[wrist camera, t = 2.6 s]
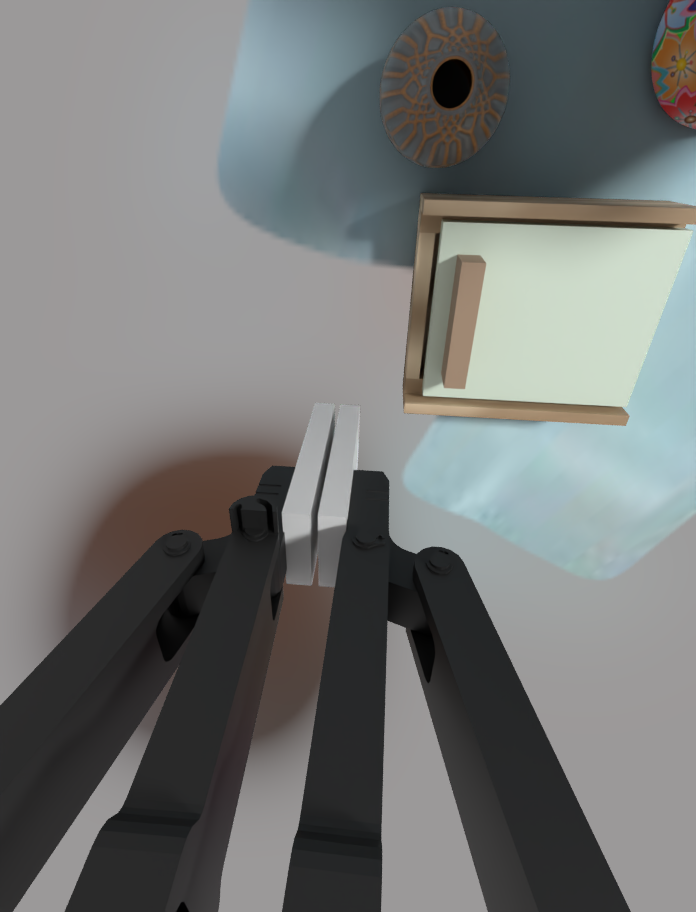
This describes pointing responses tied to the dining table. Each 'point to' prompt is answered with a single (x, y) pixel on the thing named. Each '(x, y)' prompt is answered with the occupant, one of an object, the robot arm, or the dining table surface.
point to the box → (511, 211)
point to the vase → (444, 87)
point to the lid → (547, 309)
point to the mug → (676, 62)
